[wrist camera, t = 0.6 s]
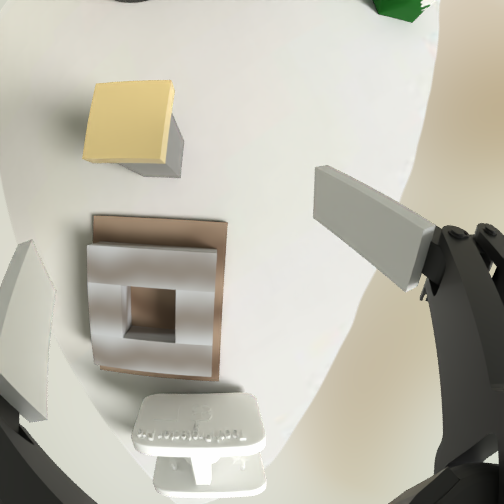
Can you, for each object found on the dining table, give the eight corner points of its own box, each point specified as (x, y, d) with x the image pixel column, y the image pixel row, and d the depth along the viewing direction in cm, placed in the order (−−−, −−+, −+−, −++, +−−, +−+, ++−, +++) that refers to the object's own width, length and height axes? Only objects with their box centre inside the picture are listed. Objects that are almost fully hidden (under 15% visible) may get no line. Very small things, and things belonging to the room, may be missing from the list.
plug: (143, 135, 32) (95, 83, 17) (189, 136, 33) (171, 80, 17) (138, 181, 33) (82, 158, 17) (185, 183, 34) (160, 158, 18)
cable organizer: (157, 441, 38) (147, 496, 26) (145, 386, 36) (126, 441, 25) (256, 439, 39) (268, 495, 28) (255, 385, 38) (270, 440, 27)
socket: (96, 215, 33) (79, 216, 28) (227, 222, 35) (229, 223, 30) (102, 366, 35) (90, 383, 30) (218, 378, 37) (219, 398, 32)
